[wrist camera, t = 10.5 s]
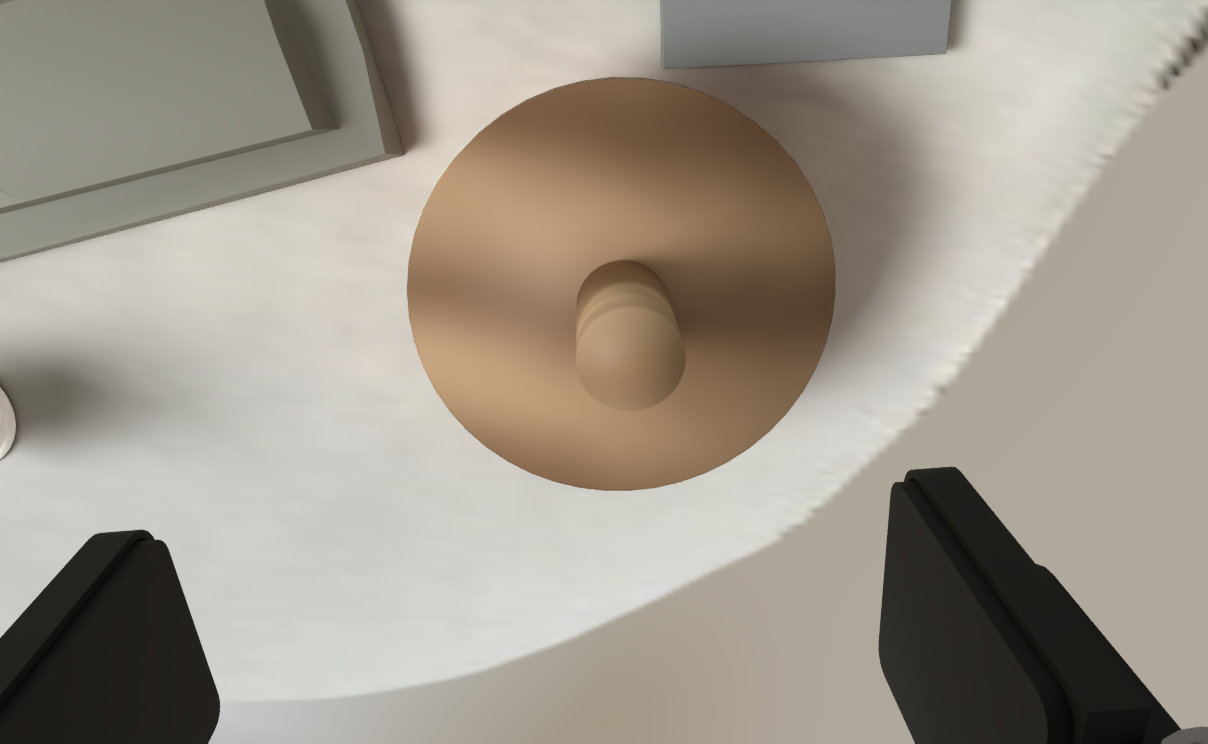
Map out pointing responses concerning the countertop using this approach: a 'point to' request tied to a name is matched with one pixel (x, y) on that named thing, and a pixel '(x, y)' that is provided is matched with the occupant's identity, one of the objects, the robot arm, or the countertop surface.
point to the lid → (621, 284)
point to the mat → (798, 30)
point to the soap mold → (175, 109)
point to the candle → (6, 424)
